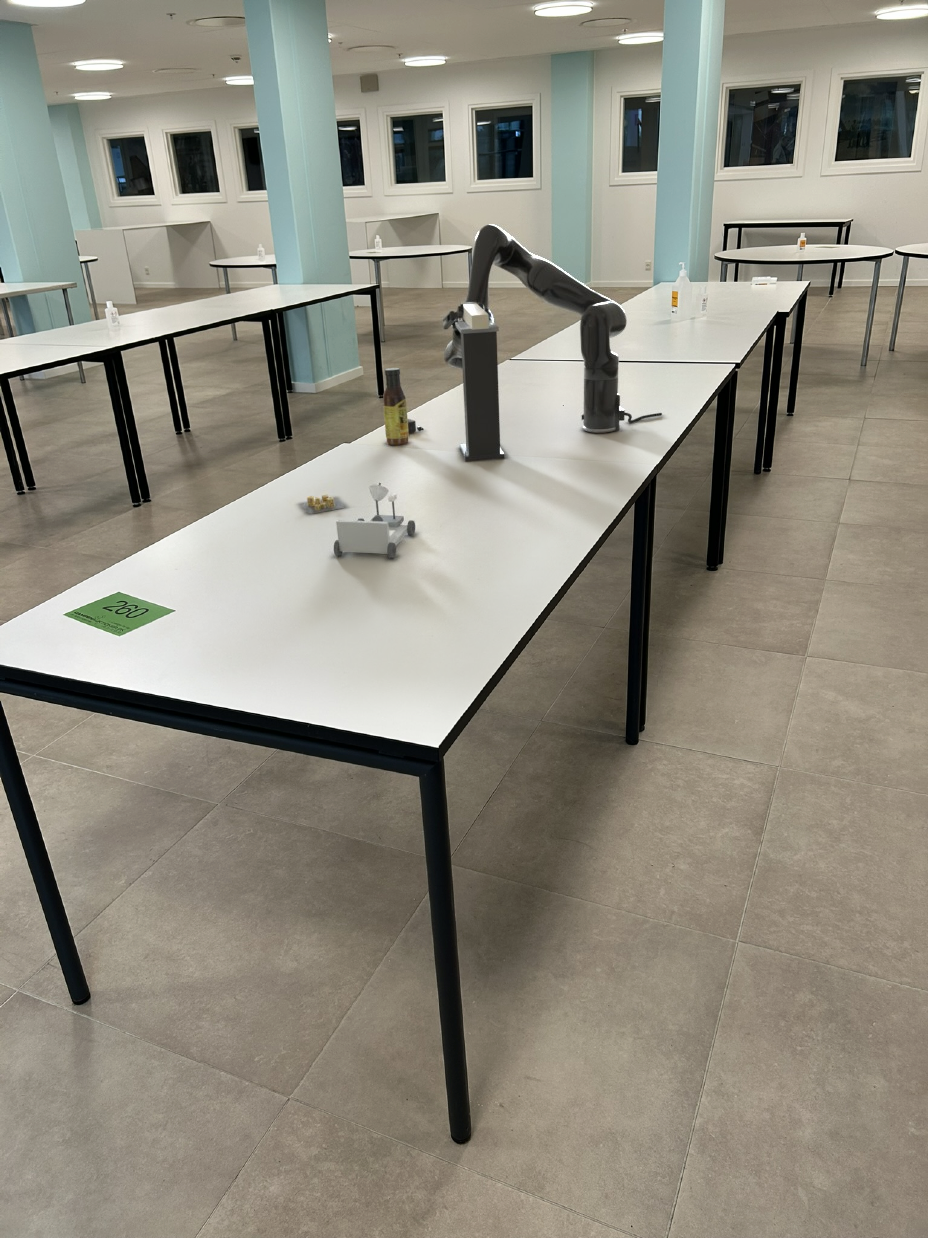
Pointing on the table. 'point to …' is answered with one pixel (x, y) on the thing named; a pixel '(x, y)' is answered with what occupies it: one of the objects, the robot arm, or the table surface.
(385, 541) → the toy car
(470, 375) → the dark grey pillar
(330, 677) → the table surface
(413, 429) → the wireless earbuds
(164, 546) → the table surface
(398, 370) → the sauce bottle
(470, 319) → the cream rectangular bar
